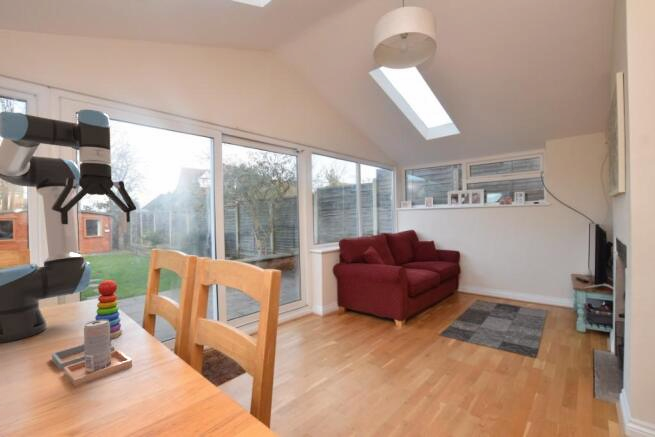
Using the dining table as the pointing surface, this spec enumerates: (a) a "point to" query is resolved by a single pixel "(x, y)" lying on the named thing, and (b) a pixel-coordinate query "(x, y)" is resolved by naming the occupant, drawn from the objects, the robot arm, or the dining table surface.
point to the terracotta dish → (80, 376)
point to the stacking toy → (109, 307)
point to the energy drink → (97, 345)
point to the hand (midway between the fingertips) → (98, 234)
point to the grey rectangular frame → (70, 351)
